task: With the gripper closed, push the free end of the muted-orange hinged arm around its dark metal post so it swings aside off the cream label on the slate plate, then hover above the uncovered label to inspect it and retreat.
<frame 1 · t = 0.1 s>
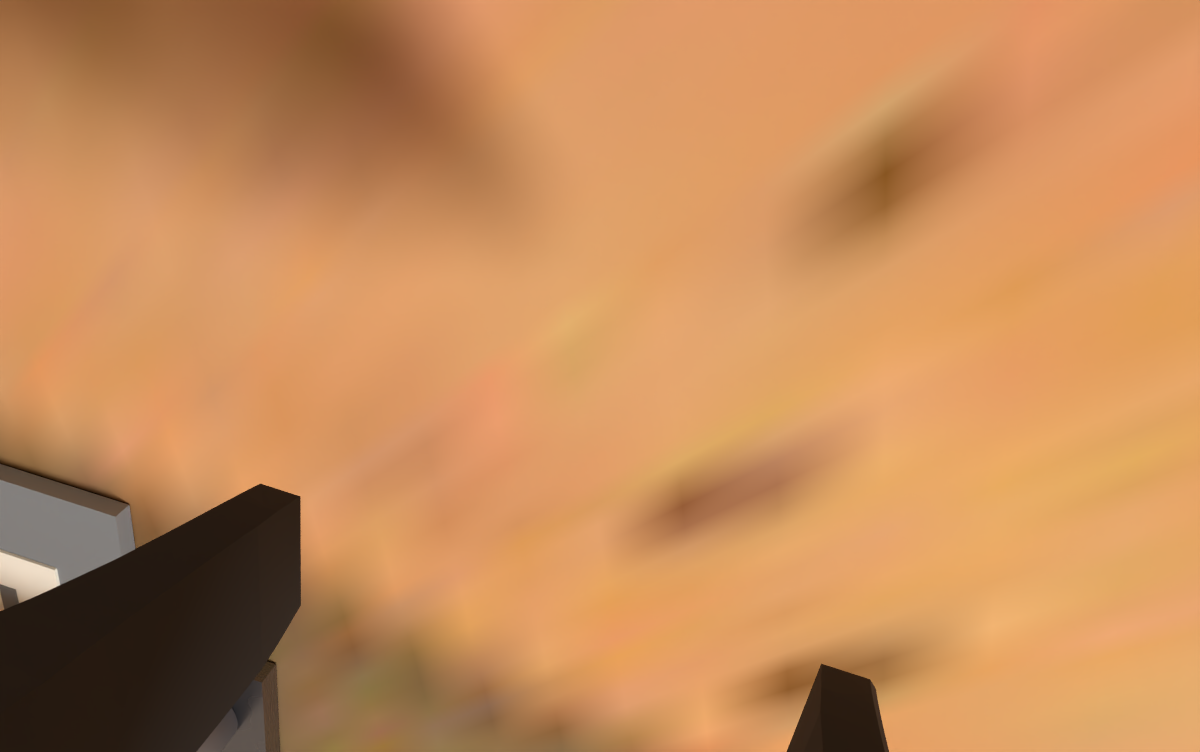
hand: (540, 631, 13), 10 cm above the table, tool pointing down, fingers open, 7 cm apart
arm mount: (218, 690, 33), on the table
label plate: (8, 654, 35), on the table
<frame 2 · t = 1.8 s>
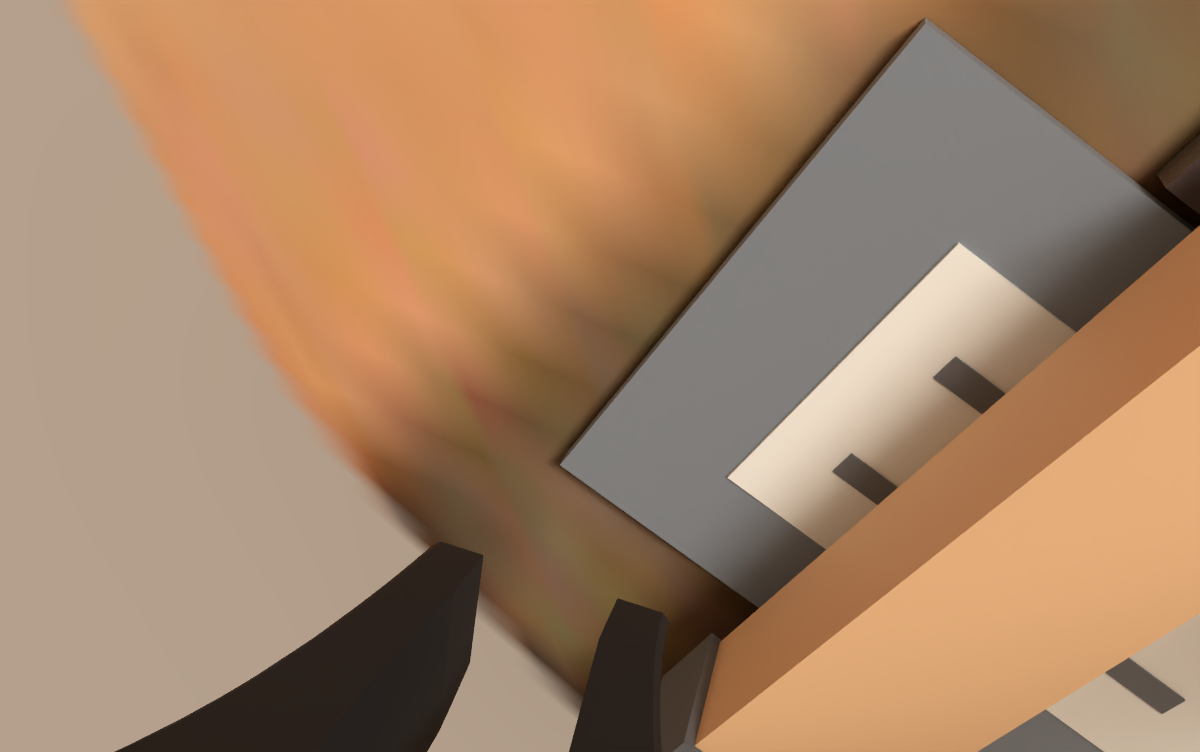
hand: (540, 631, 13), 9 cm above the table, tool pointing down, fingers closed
cable arm: (1024, 555, 18), point 3 cm above the table, hinge at 0.0°
label plate: (1061, 524, 21), on the table
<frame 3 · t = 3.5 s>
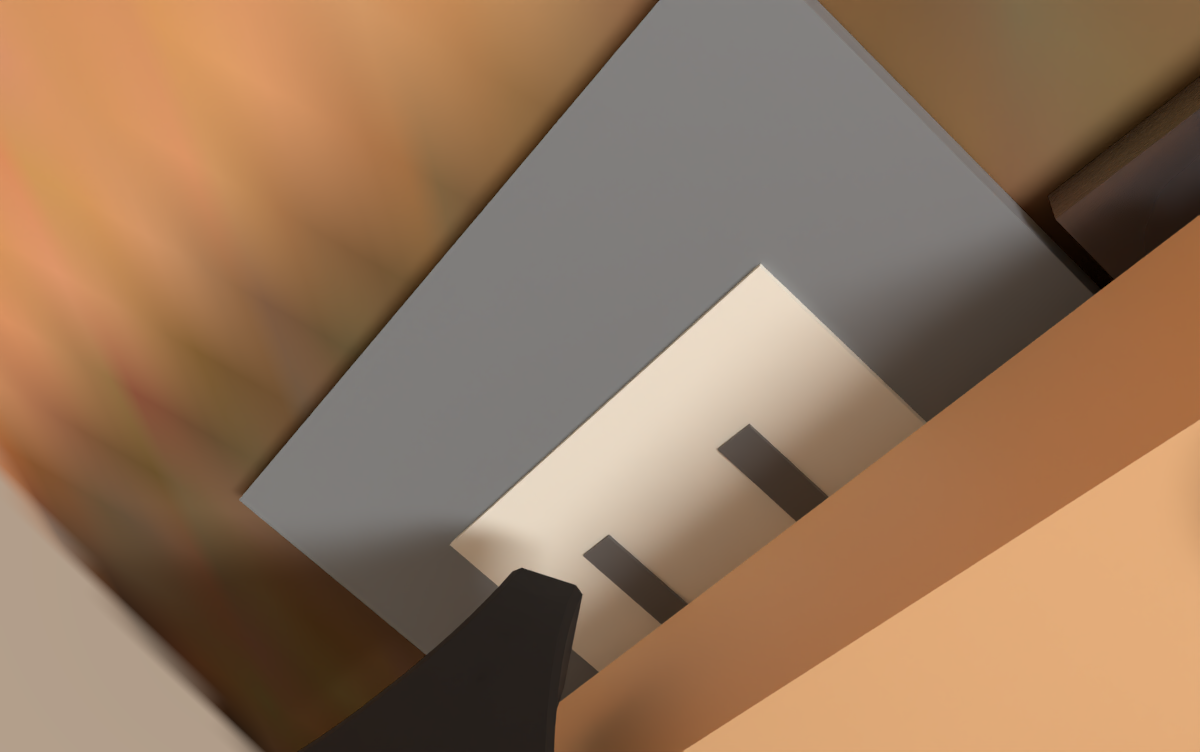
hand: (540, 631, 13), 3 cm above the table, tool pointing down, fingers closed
cable arm: (817, 747, 12), point 3 cm above the table, hinge at 2.6°, touching gripper
label plate: (881, 655, 16), on the table
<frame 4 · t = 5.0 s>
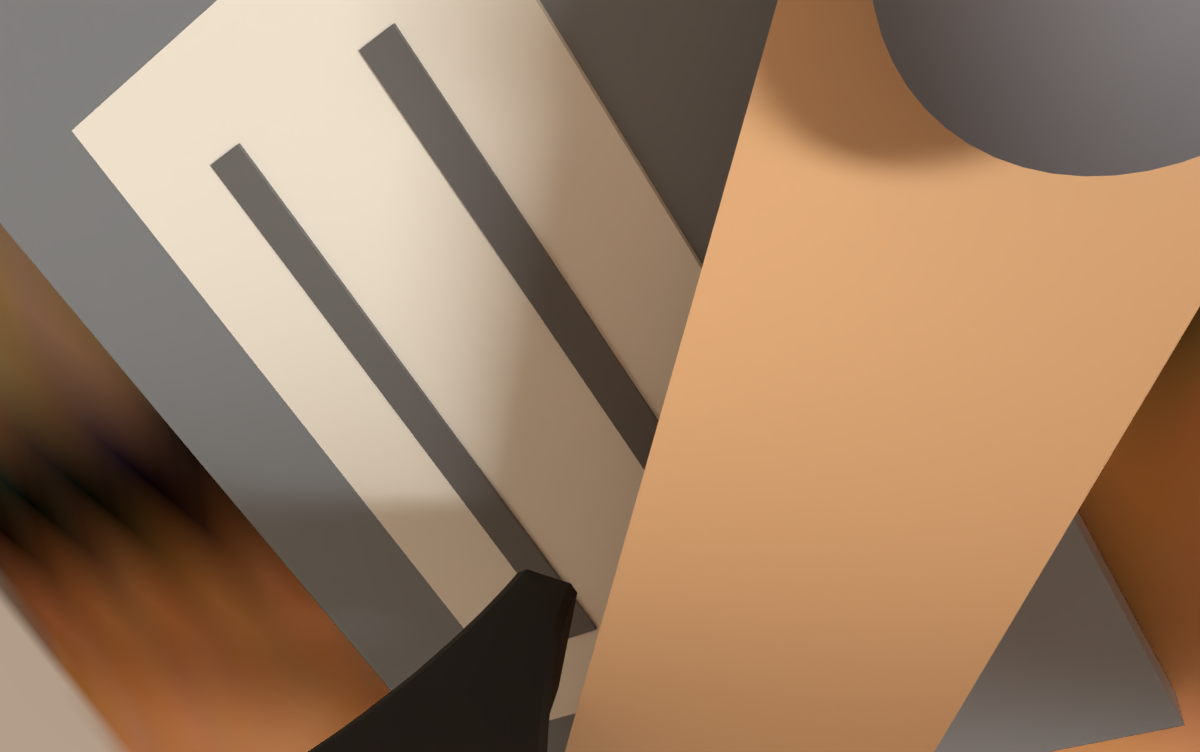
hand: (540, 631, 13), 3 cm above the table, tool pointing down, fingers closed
cable arm: (765, 634, 11), point 3 cm above the table, hinge at 44.3°, touching gripper
label plate: (511, 352, 15), on the table
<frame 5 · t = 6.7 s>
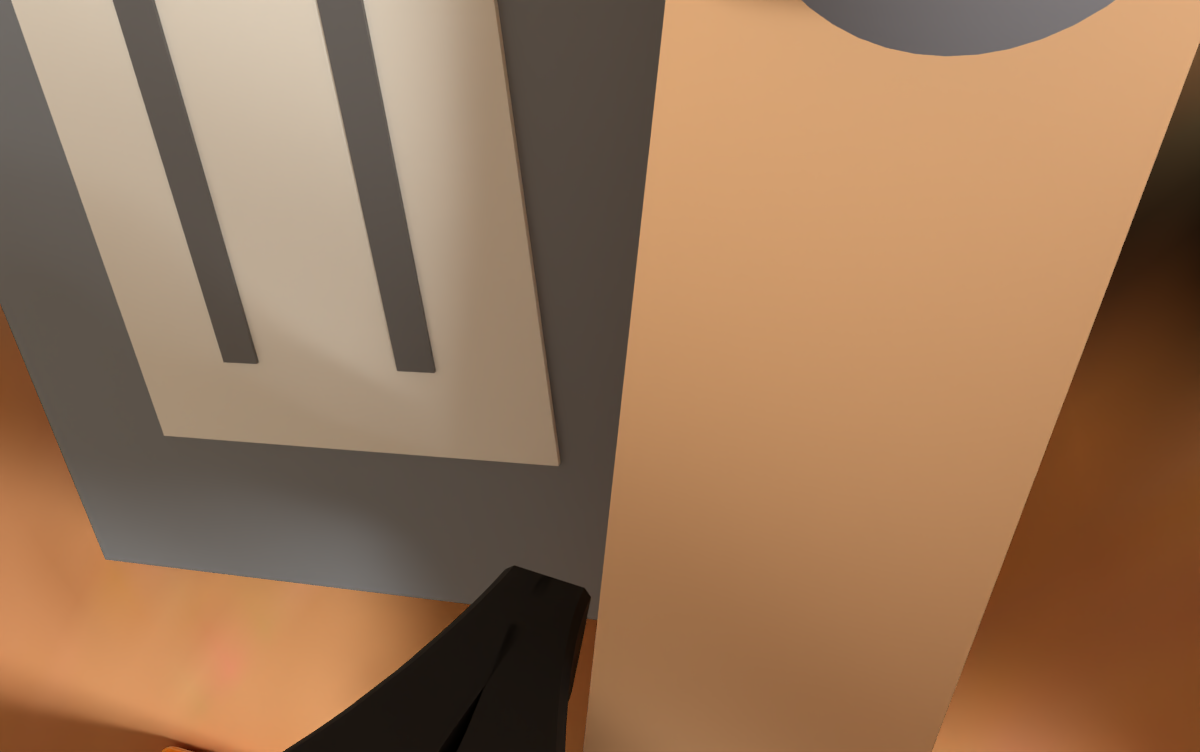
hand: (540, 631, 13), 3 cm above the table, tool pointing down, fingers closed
cable arm: (776, 601, 11), point 3 cm above the table, hinge at 79.3°, touching gripper
label plate: (279, 47, 14), on the table
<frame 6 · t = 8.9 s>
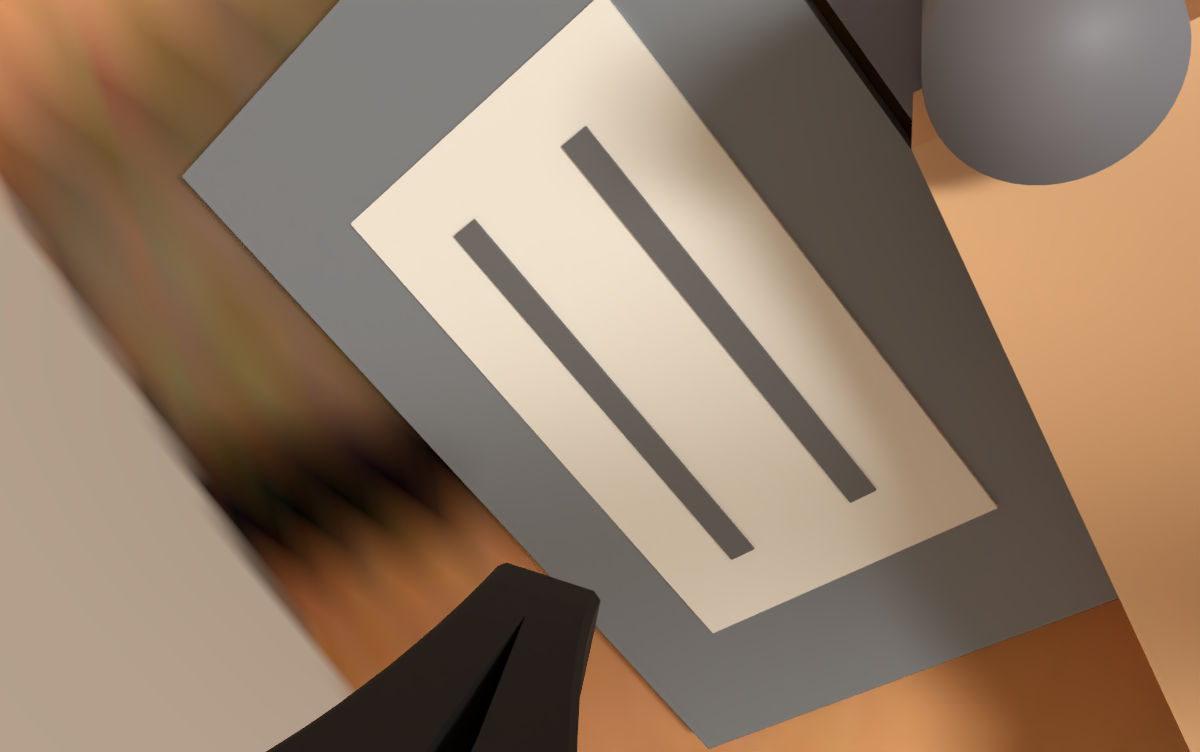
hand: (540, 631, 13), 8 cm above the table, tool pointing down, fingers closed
label plate: (673, 346, 20), on the table
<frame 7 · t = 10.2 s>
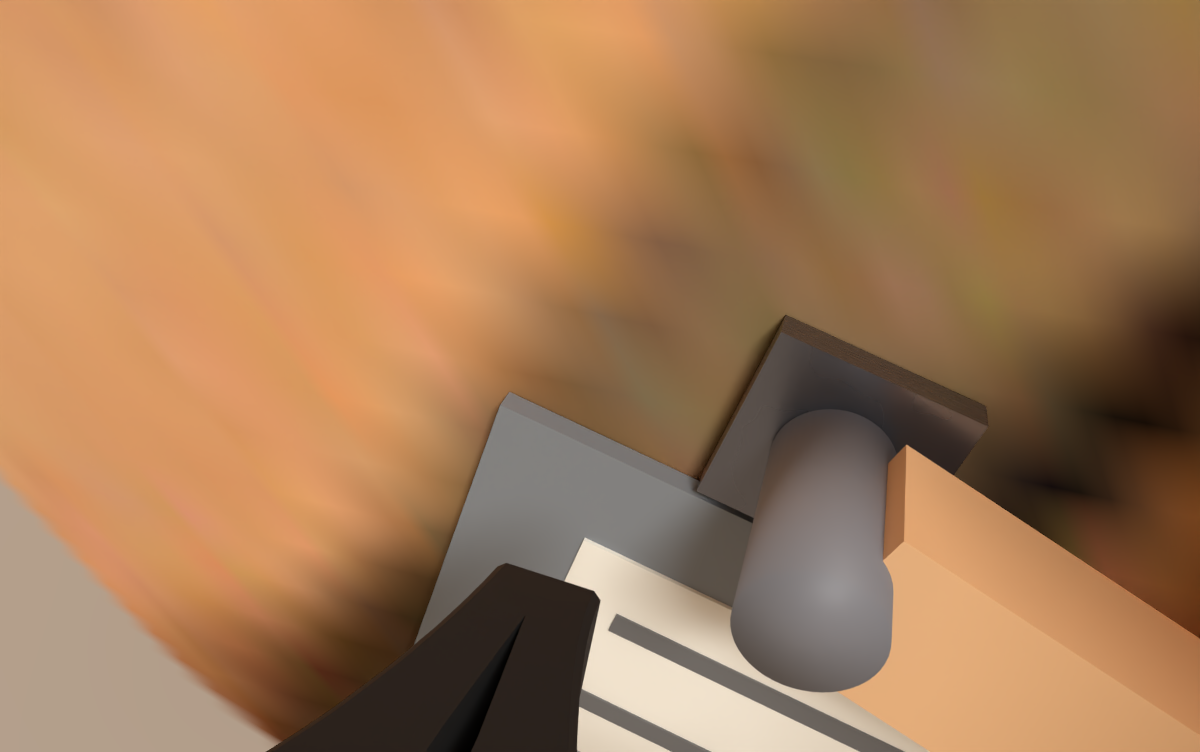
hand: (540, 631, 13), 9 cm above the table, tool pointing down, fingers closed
arm mount: (835, 440, 21), on the table
label plate: (757, 715, 26), on the table
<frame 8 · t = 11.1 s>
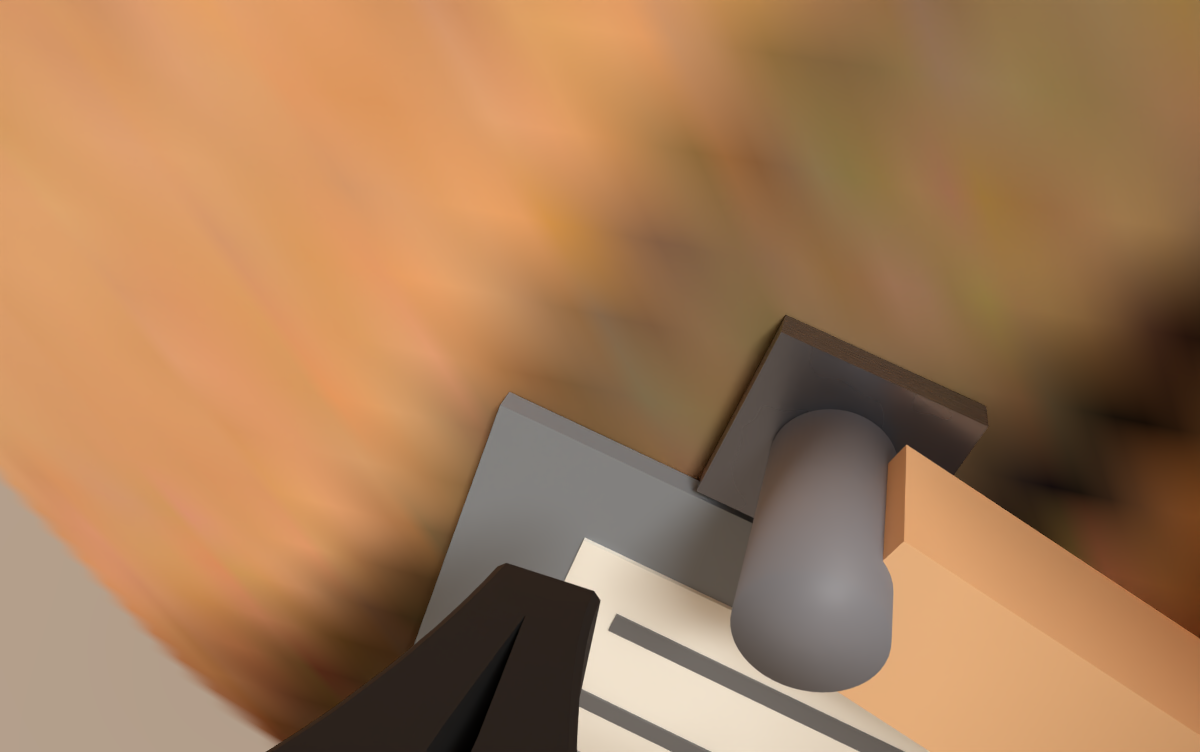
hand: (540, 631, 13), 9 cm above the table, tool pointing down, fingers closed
arm mount: (835, 440, 21), on the table
label plate: (757, 715, 26), on the table
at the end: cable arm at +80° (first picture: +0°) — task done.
